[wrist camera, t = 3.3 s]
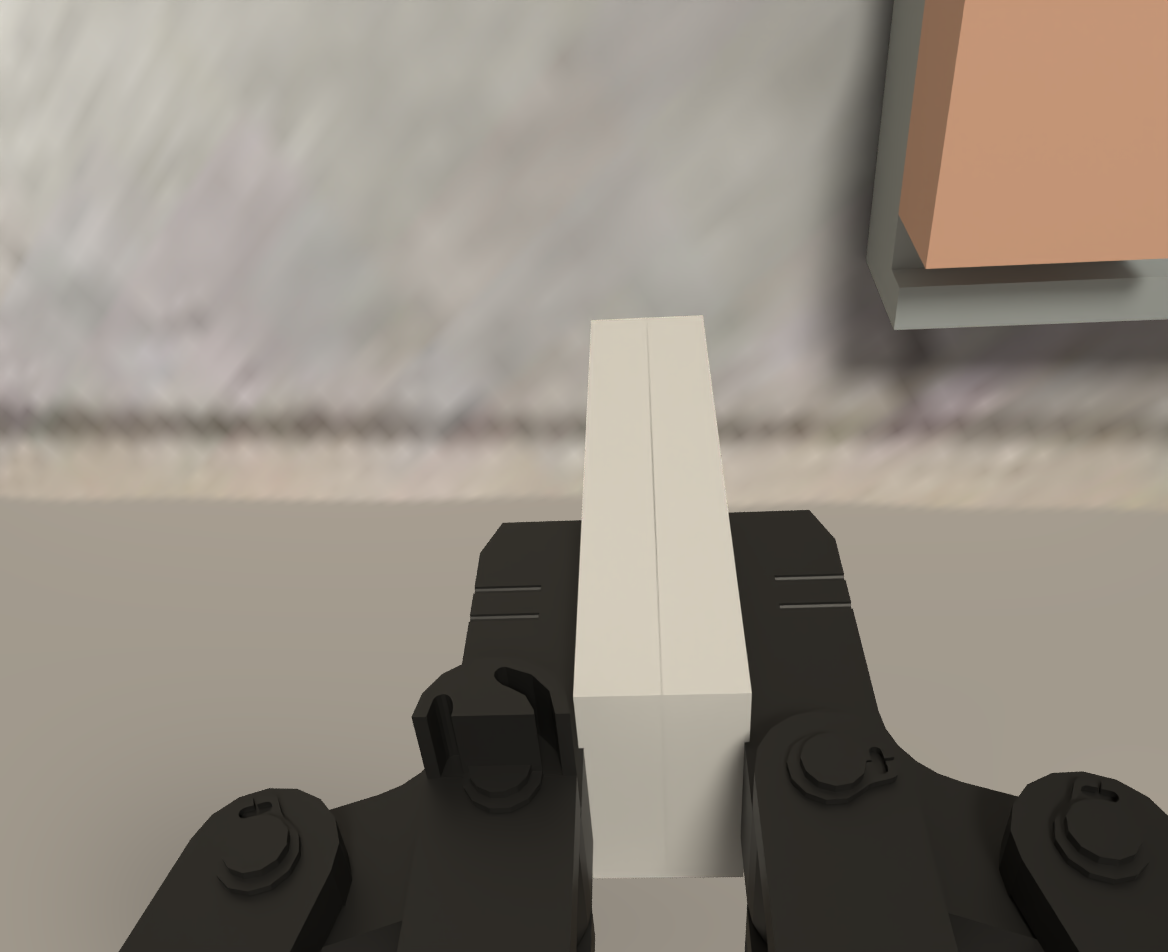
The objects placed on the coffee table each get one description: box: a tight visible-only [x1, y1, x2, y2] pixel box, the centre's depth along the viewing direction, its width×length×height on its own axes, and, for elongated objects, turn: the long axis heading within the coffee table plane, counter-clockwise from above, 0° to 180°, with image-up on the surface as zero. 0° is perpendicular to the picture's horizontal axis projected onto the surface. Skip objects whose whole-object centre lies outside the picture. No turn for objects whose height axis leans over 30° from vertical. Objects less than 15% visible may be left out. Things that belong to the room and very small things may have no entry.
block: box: [898, 0, 1168, 269], centre depth 22 cm, size 6×6×3 cm
